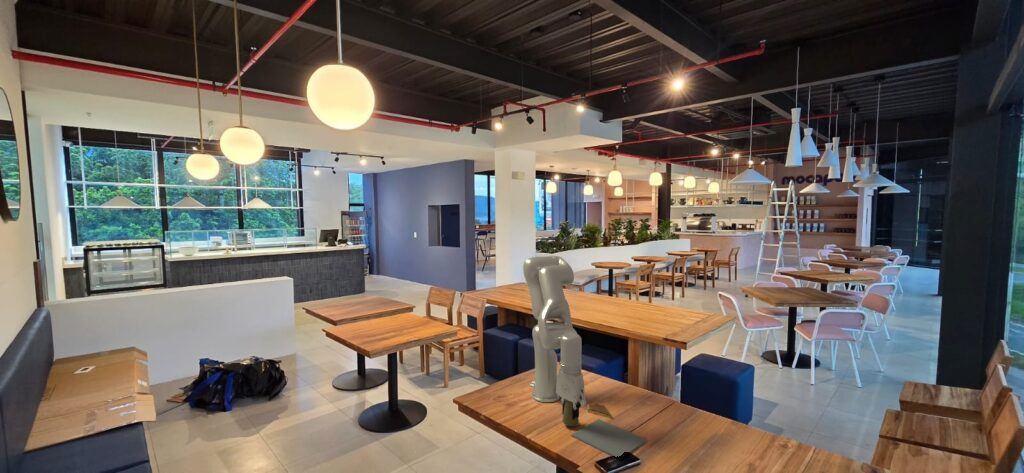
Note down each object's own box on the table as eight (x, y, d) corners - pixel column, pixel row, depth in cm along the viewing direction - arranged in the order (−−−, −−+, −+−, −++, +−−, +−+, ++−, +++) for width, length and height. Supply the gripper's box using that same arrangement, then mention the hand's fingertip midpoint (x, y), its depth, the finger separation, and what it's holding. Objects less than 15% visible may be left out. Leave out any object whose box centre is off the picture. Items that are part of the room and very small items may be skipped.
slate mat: (571, 436, 149) (571, 434, 149) (598, 420, 159) (598, 418, 159) (620, 460, 134) (620, 458, 134) (646, 441, 144) (646, 439, 144)
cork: (560, 417, 158) (561, 389, 157) (576, 416, 159) (576, 388, 158) (564, 426, 152) (564, 397, 151) (580, 425, 153) (580, 396, 152)
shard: (612, 420, 160) (611, 415, 160) (592, 421, 160) (592, 416, 160) (603, 407, 171) (603, 402, 171) (584, 408, 170) (584, 403, 170)
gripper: (547, 364, 158) (547, 411, 159) (582, 378, 145) (582, 428, 147) (560, 358, 163) (560, 404, 164) (595, 371, 150) (595, 421, 152)
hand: (570, 415), depth 155 cm, fingers closed on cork, 3 cm apart
